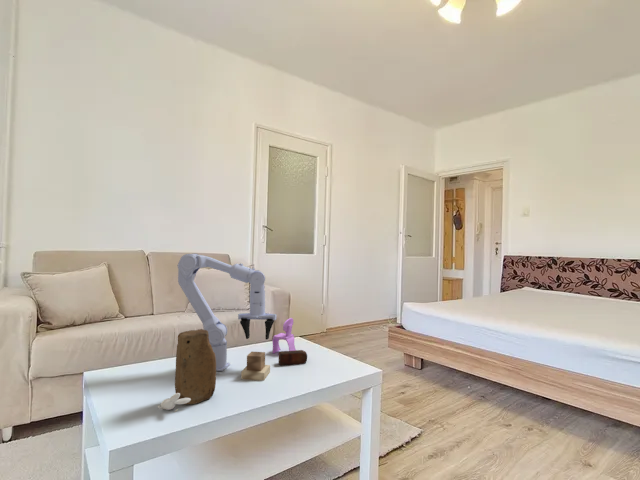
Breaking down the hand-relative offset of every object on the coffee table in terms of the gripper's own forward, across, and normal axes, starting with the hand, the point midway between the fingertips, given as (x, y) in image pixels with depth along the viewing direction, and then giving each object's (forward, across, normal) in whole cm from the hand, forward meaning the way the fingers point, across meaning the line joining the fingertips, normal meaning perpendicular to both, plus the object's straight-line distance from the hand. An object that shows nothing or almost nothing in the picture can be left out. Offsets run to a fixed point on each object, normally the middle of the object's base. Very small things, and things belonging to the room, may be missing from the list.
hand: (257, 338), depth 132 cm
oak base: (+11, +2, -9) cm, 15 cm away
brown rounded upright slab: (+10, -9, -31) cm, 34 cm away
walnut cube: (+8, +2, -10) cm, 13 cm away
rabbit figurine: (+10, -11, -39) cm, 41 cm away
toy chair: (+11, +6, +19) cm, 22 cm away
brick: (+11, +12, +6) cm, 17 cm away
